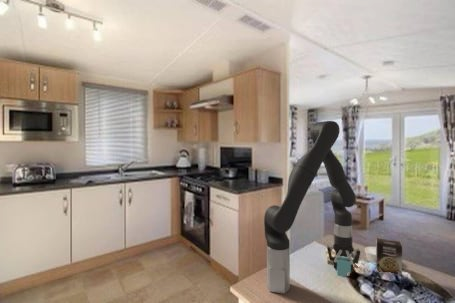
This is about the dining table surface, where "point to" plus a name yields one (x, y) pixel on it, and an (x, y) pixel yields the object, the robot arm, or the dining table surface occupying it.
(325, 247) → the post block
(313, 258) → the dining table surface
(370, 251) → the ramekin
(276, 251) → the robot arm
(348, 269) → the teal toy cube
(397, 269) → the coffee box
